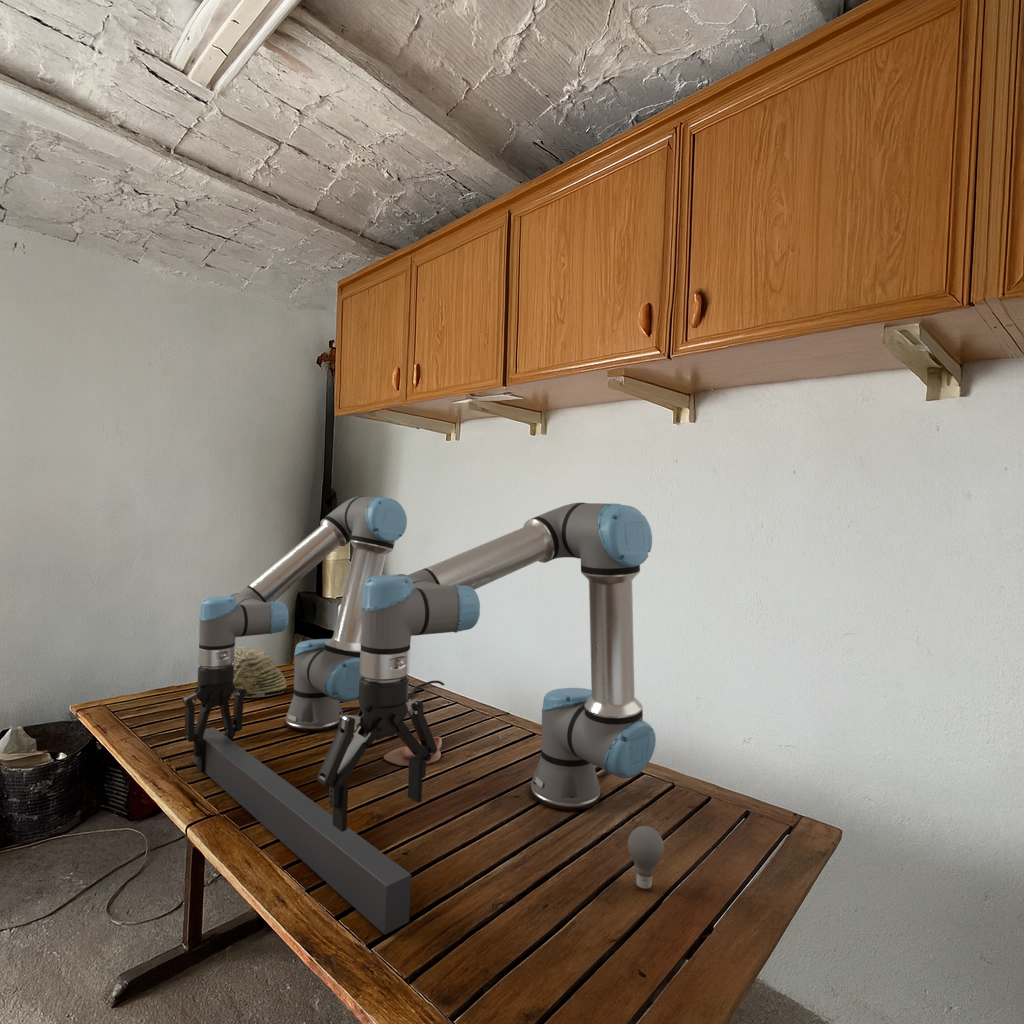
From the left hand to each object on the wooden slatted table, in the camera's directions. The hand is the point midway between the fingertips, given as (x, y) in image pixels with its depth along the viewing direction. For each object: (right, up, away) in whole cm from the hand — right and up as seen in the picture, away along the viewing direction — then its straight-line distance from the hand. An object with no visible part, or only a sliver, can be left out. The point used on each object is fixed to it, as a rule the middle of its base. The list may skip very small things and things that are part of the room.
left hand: (212, 765), depth 145 cm
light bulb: (+91, -5, -38) cm, 99 cm away
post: (+24, -2, -23) cm, 33 cm away
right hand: (+48, +12, -47) cm, 68 cm away
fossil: (-12, +1, +53) cm, 54 cm away
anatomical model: (+44, -2, +11) cm, 46 cm away
